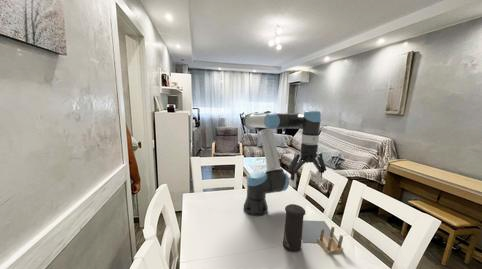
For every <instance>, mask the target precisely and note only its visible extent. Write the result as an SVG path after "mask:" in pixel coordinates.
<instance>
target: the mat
mask: <svg viewBox="0 0 482 269" xmlns="http://www.w3.org/2000/svg"><path fill="white" fill-rule="evenodd" d="M322 228H323V229H324V236H323V237H327V236H330V232H331V228H330V227H329V225H328V224H327V222H326V221H325V220H304V219H303V228H302V243H303V244H304V243H305V244H319V243H318V242H317V238H320V234H321V229H322ZM333 238H334V239H335V240H336V241H337V242H339V239H338V238H337V237H336V235H335V233H334V234H333Z"/></svg>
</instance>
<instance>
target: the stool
mask: <svg viewBox="0 0 482 269" xmlns="http://www.w3.org/2000/svg"><path fill="white" fill-rule="evenodd" d="M330 230H331V232H330V236H327V237H323V236H324V229H323V228H322V229H321V234H320V238H317V242H318V243H317V244H319V246H321V247H322V249H323V250H324V251H325V252H326V253H327V254H328V255H329V254H334V253H339V252H343V251H344V248H343V247H342V244H343V241H344V240H343V238H344V236H343V235H341V234H340V235H339V238H338V241H339V242H337V241H336V240H335V239H334V238H333V234H334V235H335V227H334V226H331V228H330Z"/></svg>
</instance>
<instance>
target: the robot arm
mask: <svg viewBox="0 0 482 269" xmlns="http://www.w3.org/2000/svg"><path fill="white" fill-rule="evenodd" d="M321 115H322V114H321V111H317V110H304V112H303V113H299V112H294V113H280V112H279V113H276V112H273V113H272V112H271V113H270V112H251V113H248V114H245V116H244V117H243V121H242V123H243V125H244V127H245V128H247V129H249V130H255V131H256V130H257V132H258V134H259V135H260V136H261V141H262V147H263V151H264V152H263V153H264V158H265V164H266V170H265V172H264V171H254V172H251V173H250V174H249V175H248V176H247V182H246V183H247V185H246V199H245V202H244V203H243V211H244V213H246V214H247V215H249V216H253V217H262V216H265V215H266V214H268V211H269V210H268V209H269V208H268V203H267V200H266V194H273V193H282V192H285V191H286V190H288V188H289V185H290V180H291V186H292V187H293V188H294V189H296V187H297V172H298V171H299V170H300V168H302V166H303V165H305V164H308V163H310V164H311V163H313V165H314V167H315V168H316V169H317V170H316V173H315V181H314V182H315V184H316V185H317V186H321V179H322V178H323V174H324V173H325V172H326V171H327V168H326V163H325V161H324V158H323V153H322V152H320V151H319V150H318V149H319V147H318V146H319V138H320V127H321V122H322V118H321V117H322V116H321ZM277 129H281V130H282V129H300V130H302V131H301V144H300V151H301V152H300V153H297V152H295V153H294V156H293V159H292V161H291V163H290V164H289V167H288V168H287V170H286V171H287V172H285V171H284V168H282V167H281V164H280V159H279V155H278V150H277V148H278V147H277V143H276V138H275V133H274V132H275V131H276V130H277ZM316 158H317V159H316ZM288 173H289V174H290V178H289V175H288Z"/></svg>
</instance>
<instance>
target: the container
mask: <svg viewBox="0 0 482 269" xmlns="http://www.w3.org/2000/svg"><path fill="white" fill-rule="evenodd" d="M284 210H285V222H284V227H283V228H284V229H283V239H282V245H283V248H284V249H285V250H286V251H287V252H289V253H291V252H292V253H299V252H300V251H301V249H302V243H303V241H302V228H303V220H304V217H305V215H306V210H305V208H303V206H301V205H299V204H294V203H291V204H287V205H286V206H285V208H284Z"/></svg>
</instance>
